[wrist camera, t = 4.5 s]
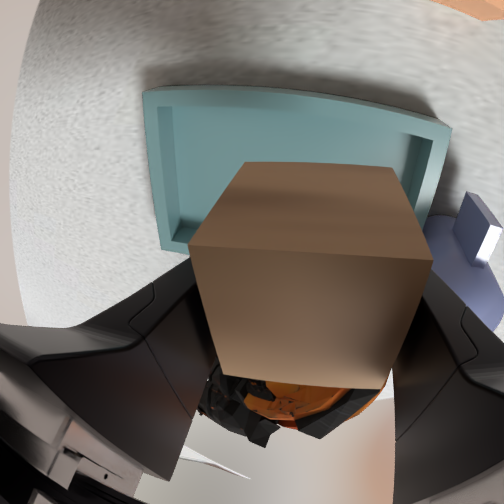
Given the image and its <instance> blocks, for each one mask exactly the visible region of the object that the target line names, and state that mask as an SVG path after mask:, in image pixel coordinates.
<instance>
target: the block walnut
mask: <svg viewBox="0 0 504 504" xmlns="http://www.w3.org/2000/svg"><path fill="white" fill-rule="evenodd" d="M187 246H188V250H189V254H190V258H191V262H192V266H193V270H194V274H195V277H196V281H197V285H198V289H199V292H200V296H201V300H202V303H203V307H204V311H205V314H206V318H207V321H208V325H209V328H210V332H211V335H212V338H213V342H214V345H215V348H216V352H217V355H218V358H219V362H220V365H221V368H222V371H223V374H225V375H231V376H237V377H244V378H251V379H258V380H265V381H273V382H281V383H290V384H300V385H310V386H323V387H338V388H358V389H381V388H382V386H383V384H384V382H385V380H386V378H387V376H388V374H389V372H390V370H391V368H392V366H393V364H394V362H395V360H396V358H397V355H398V353H399V351H400V349H401V346H402V344H403V342H404V340H405V337H406V335H407V333H408V330H409V328H410V325H411V323H412V320H413V318H414V315H415V313H416V310H417V308H418V305H419V302H420V299H421V297H422V294H423V291H424V288H425V285H426V282H427V279H428V276H429V273H430V270H431V267H432V264H433V261H434V260H433V257H432V254H431V252H430V249H429V247H428V244H427V242H426V239H425V237H424V234H423V232H422V230H421V227H420V225H419V223H418V220H417V218H416V216H415V213H414V211H413V209H412V207H411V205H410V202H409V200H408V198H407V196H406V194H405V192H404V190H403V188H402V186H401V184H400V182H399V180H398V178H397V176H396V174H395V172H394V170H393V168H391V167H380V166H368V165H353V164H336V163H313V162H244V164H243V165H242V166H241V168H240V169H239V170H238V172H237V173H236V175H235V176H234V177H233V179H232V180H231V182H230V183H229V185H228V186H227V187H226V189H225V190H224V192H223V193H222V195H221V196H220V197H219V199H218V200H217V202H216V203H215V205H214V206H213V208H212V209H211V210H210V212H209V213H208V215H207V216H206V218H205V219H204V221H203V222H202V224H201V225H200V227H199V228H198V230H197V231H196V233H195V234H194V236H193V237H192V239H191V240H190V242H189V243H188V245H187Z"/></svg>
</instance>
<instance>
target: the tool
mask: <svg viewBox="0 0 504 504" xmlns="http://www.w3.org/2000/svg"><path fill="white" fill-rule="evenodd" d="M390 371H391V370H390ZM389 373H390V372H389ZM388 376H389V374H388ZM388 376H387V378H386V380H385V382H384V384H383V386H382V388H381V389H358V388H338V387H323V386H310V385H300V384H290V383H281V382H273V381H265V380H258V379H251V378H244V377H237V376H231V375H225V374H223V371H222V368H221V365H220V362H219V358H218V355H216V358H215V360H214V363H213V366H212V369H211V371H210V374H209V377H208V381H207V382H206V385H205V388H204V390H203V393H202V396H201V398H200V401H199V404H198V407H197V410H198V412H199V413H200V414H199V415H203V414H204V415H205V416H207V417H208V418H210V419H211V420H213V421H214V422H216V423H217V424H219V425H221V426H222V427H224V428H226V429H227V430H229V431H231V432H234V433H237V434H240V435H243V436H247V438H248V440H249V441H250V442H252V443H254V444H257V445H259V446H261V447H264V448H265V447H266V445H267V442H268V440H269V437H270V435H271V434H272V433H273V432H275V431H276V430H278V429H279V428H280V426H278V425H277V424H279V425H281V426H283V427H287V428H291V429H296V430H298V431H300V432H303V433H305V434H308V435H310V436H313V437H315V438H318V439H321V438H323V437H324V436H325V435H327V434H328V433H330V432H331V431H332V430H334V429H335V428H336V427H338V426H339V425H340V424H342V423H343V422H344V421H347V420H349V419H351V418H353V417H355V416H357V415H359V414H360V413H361V412H362V411H363V410H364V409H366V407H368V406H369V405H370V404H371V403H372V402H373V401H374V400H375V399H376V398H377V396H378V395H379V394H380V392H381V391H382V390H383V388H384V387H385V385H386V382H387V379H388Z"/></svg>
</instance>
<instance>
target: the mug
mask: <svg viewBox="0 0 504 504" xmlns="http://www.w3.org/2000/svg"><path fill="white" fill-rule="evenodd" d="M502 230H503V227H502V226H501V225H500V223H499V222H498V220H497V219H496V218H495V216H494V215H493V214H492V212H491V211H490V210H489V208H488V207H487V206H486V204H485V203H484V202H483V201H482V199H481V198H480V197H479V196H478V195H476V194H473V193H470V192H467V191H466V193H465V196H464V199H463V202H462V205H461V207H460V210H459V213H458V216H457V218H455V217H452V216H447V215H436V216H431V217H427V219H426V221H425V224H424V227H423V230H422V232H423V234H424V237H425V239H426V242H427V244H428V247H429V249H430V252H431V254H432V257H433V260H434V261H433V264H432V267H431V269H432V270H433V271H434V272H435V273H436V274H437V275H438V276H439V277H440V278H441V279H442V280H443V281H444V282H445V283H446V284H447V285H448V286H449V287H450V288H451V289H452V290H453V291H454V292H455V293H456V294H457V295H458V296H459V297H460V298H461V299H462V300H463V301H464V302H465V303H466V306H468V307H469V308H470V309H471V310H472V311H473V312H474V313H475V314H476V315H477V316H478V317H479V318H480V319H481V320H482V322H483V323H484V324H485V325H486V326H487V327H488V328H489V329H490V330H491V331H492V332H493V331H494V330H495V329H496V328H497V326H498V325H499V323H500V321H501V319H502V317H503V314H504V296H503V293H502V291H501V289H500V287H499V284H498V282H497V280H496V278H495V276H494V274H493V272H492V270H491V268H490V266H489V264H488V260H489V258H490V256H491V254H492V252H493V250H494V248H495V245H496V243H497V241H498V239H499V237H500V235H501V233H502Z"/></svg>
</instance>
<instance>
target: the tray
mask: <svg viewBox="0 0 504 504" xmlns="http://www.w3.org/2000/svg"><path fill="white" fill-rule="evenodd" d="M142 96H143V111H144V123H145V134H146V144H147V154H148V163H149V171H150V179H151V187H152V194H153V201H154V208H155V215H156V221H157V227H158V233H159V239H160V245H161V250H166V251H172V252H177V253H182V254H188V255H190V254H189V250H188V246H187V245H188V243H189V242H190V240H191V239H192V237H193V236H194V234H195V233H196V231H197V230H198V228H199V227H200V225H201V224H202V222H203V221H204V219H205V218H206V216H207V215H208V213H209V212H210V210H211V209H212V208H213V206H214V205H215V203H216V202H217V200H218V199H219V197H220V196H221V195H222V193H223V192H224V190H225V189H226V187H227V186H228V185H229V183H230V182H231V180H232V179H233V177H234V176H235V175H236V173H237V172H238V170H239V169H240V168H241V166H242V165H243V164H244V162H313V163H336V164H353V165H368V166H380V167H391V168H393V170H394V172H395V174H396V176H397V178H398V180H399V182H400V184H401V186H402V188H403V190H404V192H405V194H406V196H407V198H408V200H409V202H410V205H411V207H412V209H413V211H414V213H415V216H416V218H417V220H418V223H419V225H420V227H421V230H423V227H424V224H425V221H426V219H427V216H428V213H429V210H430V207H431V204H432V201H433V198H434V195H435V191H436V188H437V185H438V182H439V178H440V175H441V171H442V168H443V164H444V160H445V157H446V153H447V149H448V145H449V141H450V137H451V132H452V128H451V127H449V126H448V125H446V124H445V123H444V122H442V121H441V120H439V119H437V118H434V117H430V116H427V115H424V114H420V113H416V112H413V111H409V110H405V109H401V108H397V107H393V106H389V105H385V104H380V103H376V102H371V101H366V100H361V99H356V98H350V97H345V96H339V95H333V94H326V93H319V92H312V91H304V90H295V89H285V88H274V87H260V86H242V85H174V86H160V87H157V88H154V89H151V90H147V91H144V92H142Z"/></svg>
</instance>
